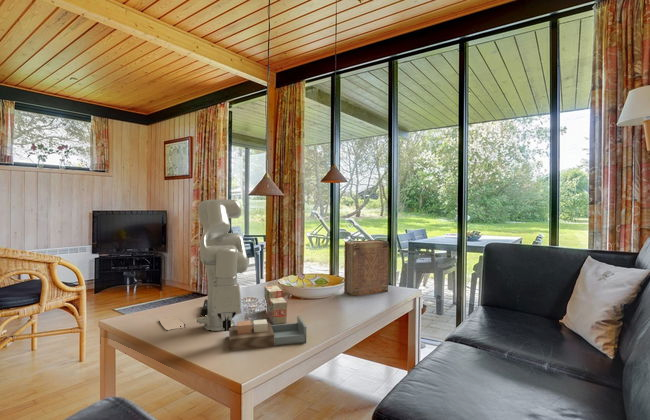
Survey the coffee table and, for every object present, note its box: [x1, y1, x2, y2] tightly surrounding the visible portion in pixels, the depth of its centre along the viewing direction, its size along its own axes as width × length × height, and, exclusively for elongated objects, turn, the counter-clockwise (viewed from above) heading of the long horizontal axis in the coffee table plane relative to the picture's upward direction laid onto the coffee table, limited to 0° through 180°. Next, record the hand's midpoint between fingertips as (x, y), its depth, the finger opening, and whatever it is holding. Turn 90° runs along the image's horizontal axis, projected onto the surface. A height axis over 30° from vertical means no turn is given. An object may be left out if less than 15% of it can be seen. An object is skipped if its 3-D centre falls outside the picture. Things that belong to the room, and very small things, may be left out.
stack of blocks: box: [263, 284, 288, 325], centre depth 166 cm, size 21×6×12 cm, turn 19°
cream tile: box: [252, 319, 269, 332], centre depth 137 cm, size 5×5×3 cm
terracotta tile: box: [236, 320, 252, 334], centre depth 135 cm, size 5×5×3 cm
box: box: [271, 315, 307, 347], centre depth 140 cm, size 12×14×6 cm
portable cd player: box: [200, 298, 208, 317], centre depth 175 cm, size 16×17×4 cm
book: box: [343, 239, 390, 297], centre depth 211 cm, size 25×9×30 cm, turn 119°
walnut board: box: [228, 322, 275, 351], centre depth 136 cm, size 16×14×4 cm
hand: (226, 329), depth 134 cm, fingers closed
